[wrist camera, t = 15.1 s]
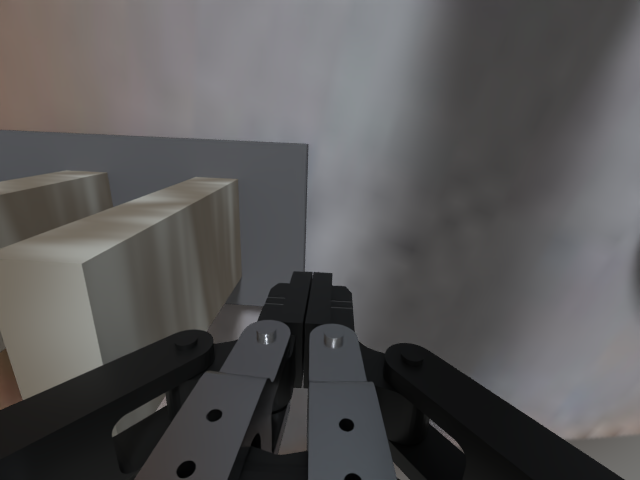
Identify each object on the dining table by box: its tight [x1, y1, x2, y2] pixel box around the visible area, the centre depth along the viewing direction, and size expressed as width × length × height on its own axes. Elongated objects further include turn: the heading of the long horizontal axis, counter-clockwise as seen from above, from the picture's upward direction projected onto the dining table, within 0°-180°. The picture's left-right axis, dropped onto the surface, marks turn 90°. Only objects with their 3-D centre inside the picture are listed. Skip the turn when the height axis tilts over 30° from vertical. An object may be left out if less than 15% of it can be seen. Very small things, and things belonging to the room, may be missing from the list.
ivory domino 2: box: [0, 177, 242, 437], centre depth 14 cm, size 2×6×12 cm, turn 178°
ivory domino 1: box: [0, 170, 113, 352], centre depth 14 cm, size 2×6×12 cm, turn 178°
